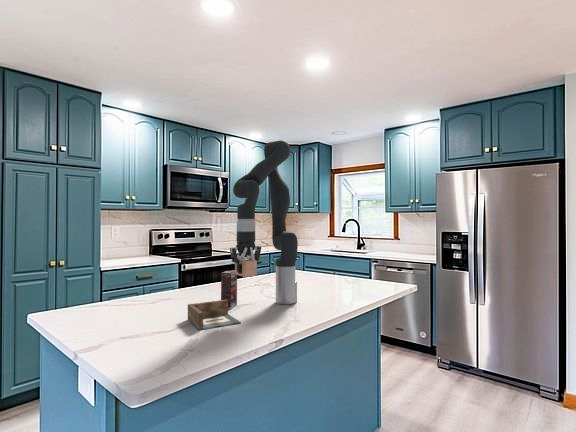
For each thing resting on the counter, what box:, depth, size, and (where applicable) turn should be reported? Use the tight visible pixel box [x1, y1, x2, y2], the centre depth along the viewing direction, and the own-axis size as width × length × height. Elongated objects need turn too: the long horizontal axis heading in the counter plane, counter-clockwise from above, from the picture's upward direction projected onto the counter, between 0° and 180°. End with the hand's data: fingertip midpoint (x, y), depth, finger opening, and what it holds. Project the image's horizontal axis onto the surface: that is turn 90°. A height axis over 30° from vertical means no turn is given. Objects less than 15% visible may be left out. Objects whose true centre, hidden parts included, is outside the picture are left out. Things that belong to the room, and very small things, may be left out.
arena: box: [187, 299, 242, 331], centre depth 137 cm, size 16×15×6 cm
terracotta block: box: [234, 258, 258, 278], centre depth 143 cm, size 5×8×6 cm, turn 40°
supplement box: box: [220, 269, 238, 311], centre depth 159 cm, size 9×5×16 cm, turn 168°
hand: (245, 272), depth 143 cm, fingers closed on terracotta block, 5 cm apart
